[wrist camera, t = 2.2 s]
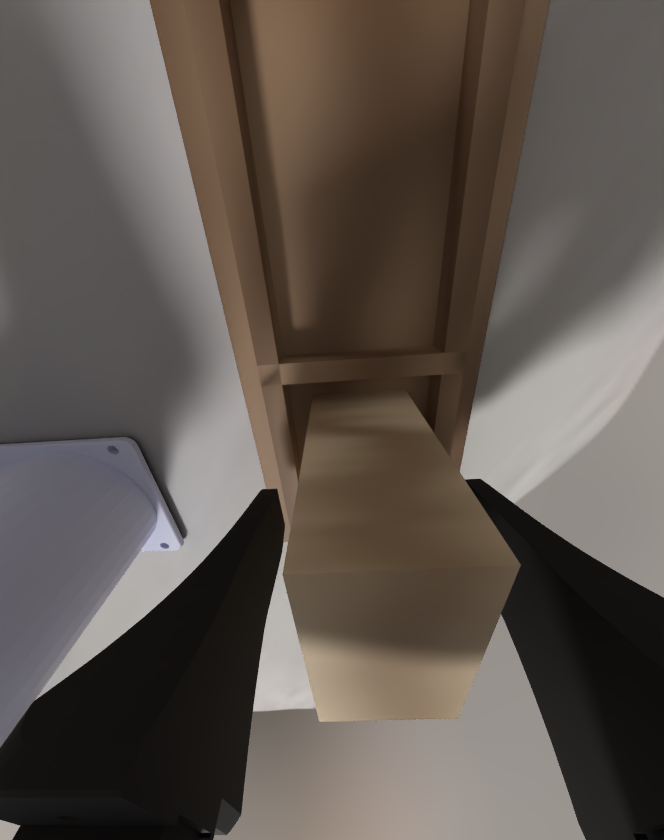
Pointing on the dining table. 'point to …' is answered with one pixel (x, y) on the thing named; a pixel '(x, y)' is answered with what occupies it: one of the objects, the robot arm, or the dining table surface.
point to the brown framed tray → (352, 194)
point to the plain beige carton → (389, 564)
